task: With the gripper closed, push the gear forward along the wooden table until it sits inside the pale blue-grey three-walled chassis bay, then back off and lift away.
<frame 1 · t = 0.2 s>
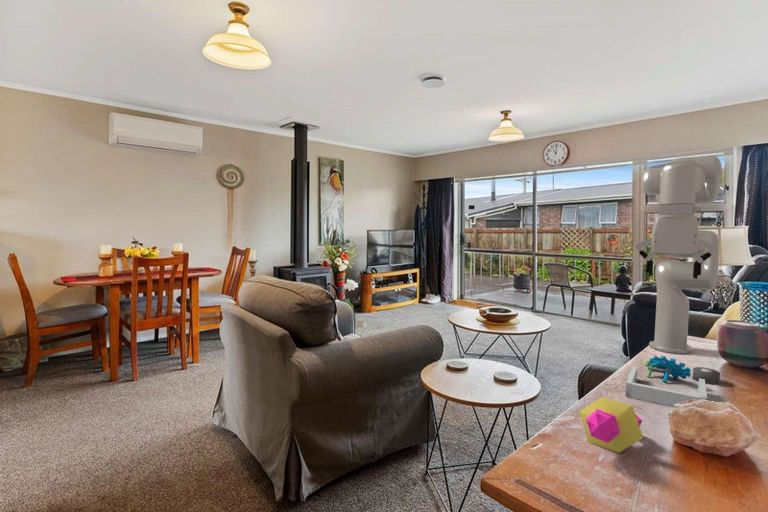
hand: (672, 276, 107), 31 cm above the table, tool pointing down, fingers open, 9 cm apart
chassis bay: (665, 394, 105), on the table
wheel: (705, 380, 115), on the table
toy: (609, 445, 81), on the table
gear: (666, 380, 116), on the table
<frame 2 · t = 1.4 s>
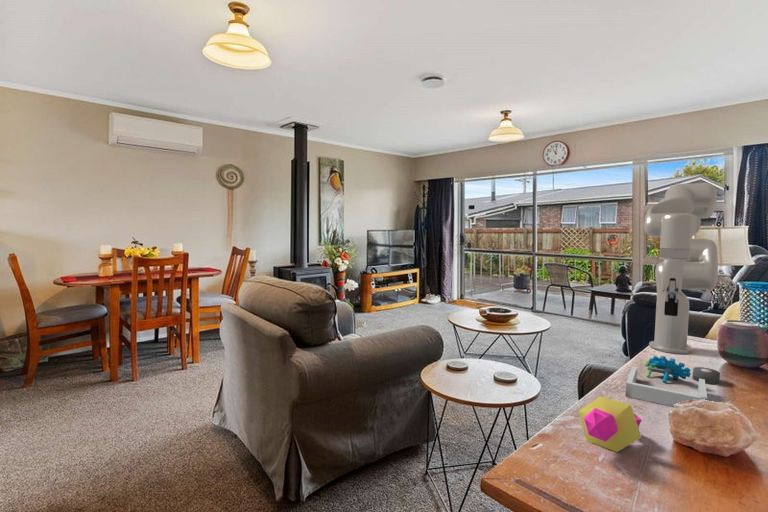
hand: (671, 312, 122), 18 cm above the table, tool pointing down, fingers open, 6 cm apart
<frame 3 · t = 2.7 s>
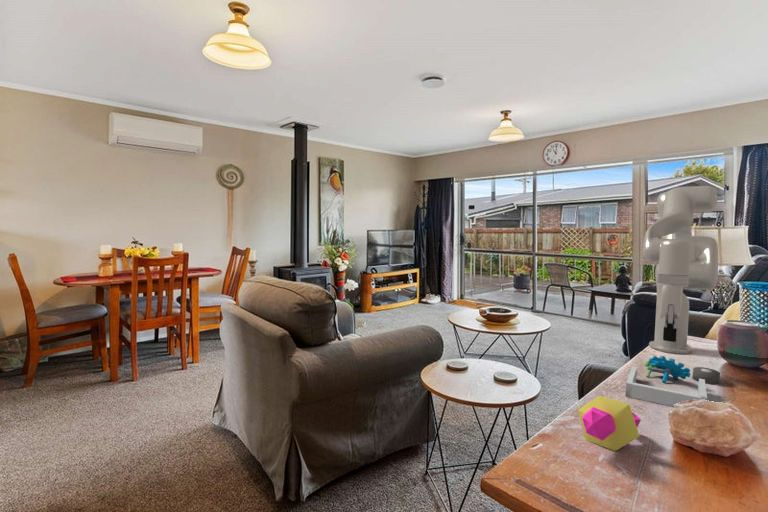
hand: (669, 340, 122), 9 cm above the table, tool pointing down, fingers closed
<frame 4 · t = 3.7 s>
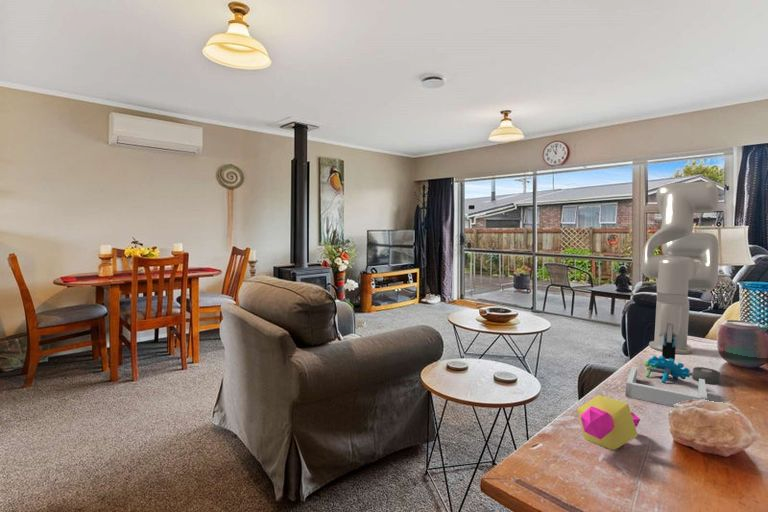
hand: (668, 358, 123), 4 cm above the table, tool pointing down, fingers closed
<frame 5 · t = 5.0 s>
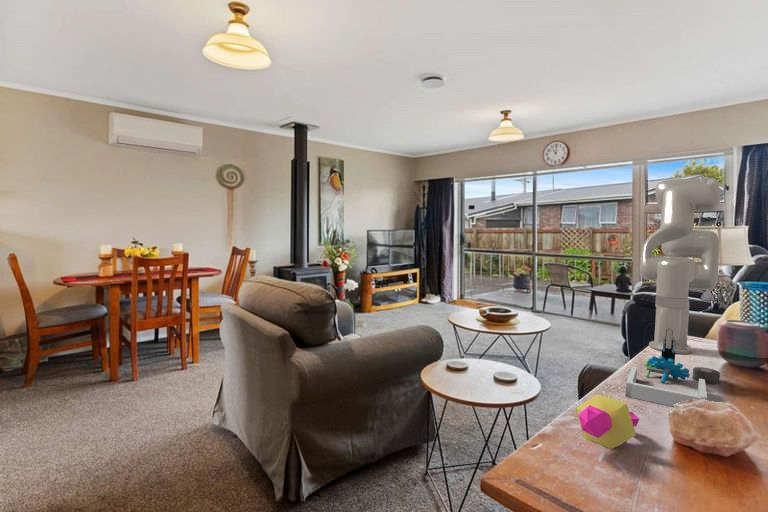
hand: (667, 364, 117), 4 cm above the table, tool pointing down, fingers closed
gear: (665, 380, 115), on the table, touching gripper
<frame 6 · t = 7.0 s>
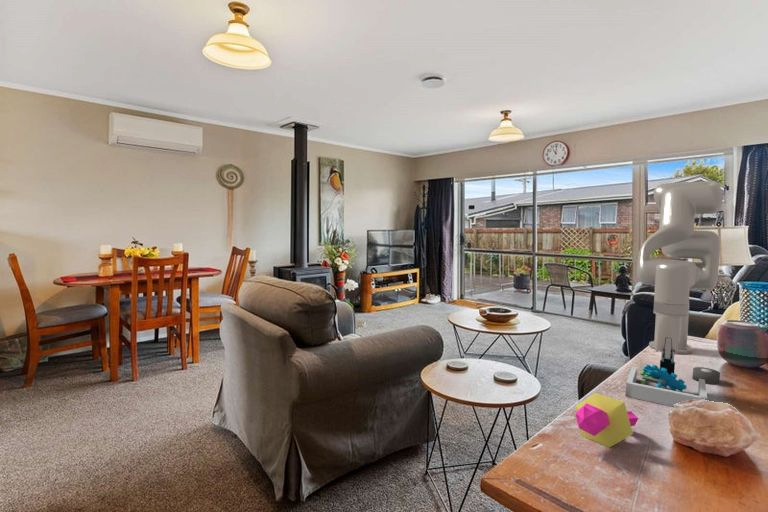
hand: (666, 376, 109), 4 cm above the table, tool pointing down, fingers closed
gear: (661, 391, 108), on the table, touching gripper
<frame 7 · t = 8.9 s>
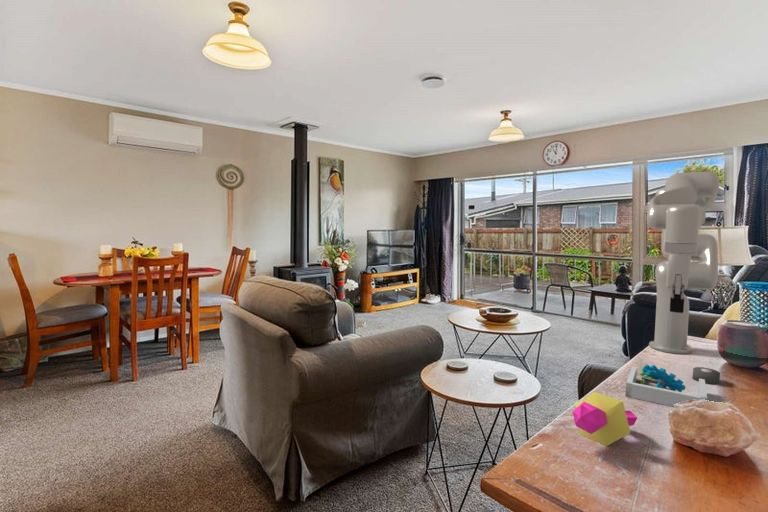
hand: (676, 311, 117), 19 cm above the table, tool pointing down, fingers closed
gear: (660, 392, 107), on the table
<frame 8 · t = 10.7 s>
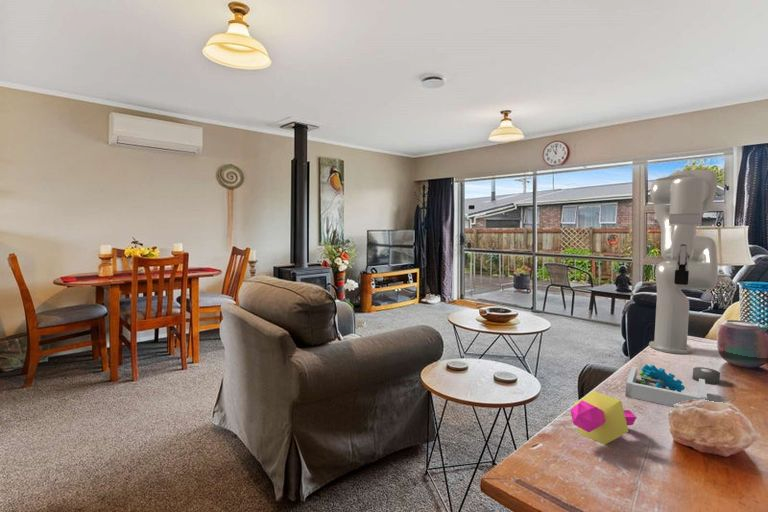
hand: (681, 284, 117), 27 cm above the table, tool pointing down, fingers closed
at the end: gear inside the target area (3.1 cm from its centre), on the table; gear moved 11.2 cm from its start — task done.
